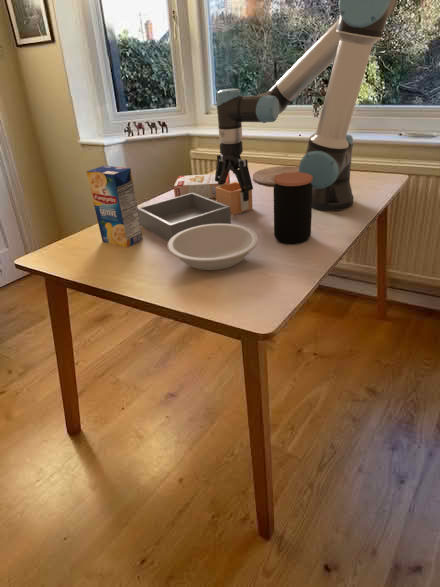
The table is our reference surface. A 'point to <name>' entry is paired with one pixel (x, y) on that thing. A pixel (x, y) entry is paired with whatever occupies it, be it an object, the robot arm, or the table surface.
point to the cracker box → (197, 185)
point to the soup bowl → (213, 245)
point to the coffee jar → (292, 207)
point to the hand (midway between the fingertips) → (234, 205)
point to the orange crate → (232, 197)
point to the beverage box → (115, 205)
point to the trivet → (271, 174)
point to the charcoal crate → (182, 214)
